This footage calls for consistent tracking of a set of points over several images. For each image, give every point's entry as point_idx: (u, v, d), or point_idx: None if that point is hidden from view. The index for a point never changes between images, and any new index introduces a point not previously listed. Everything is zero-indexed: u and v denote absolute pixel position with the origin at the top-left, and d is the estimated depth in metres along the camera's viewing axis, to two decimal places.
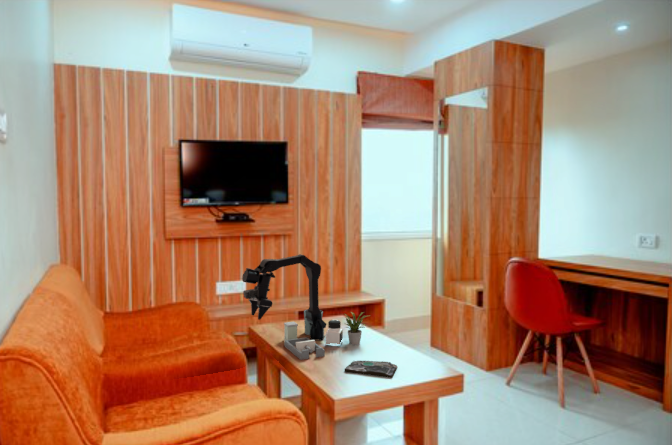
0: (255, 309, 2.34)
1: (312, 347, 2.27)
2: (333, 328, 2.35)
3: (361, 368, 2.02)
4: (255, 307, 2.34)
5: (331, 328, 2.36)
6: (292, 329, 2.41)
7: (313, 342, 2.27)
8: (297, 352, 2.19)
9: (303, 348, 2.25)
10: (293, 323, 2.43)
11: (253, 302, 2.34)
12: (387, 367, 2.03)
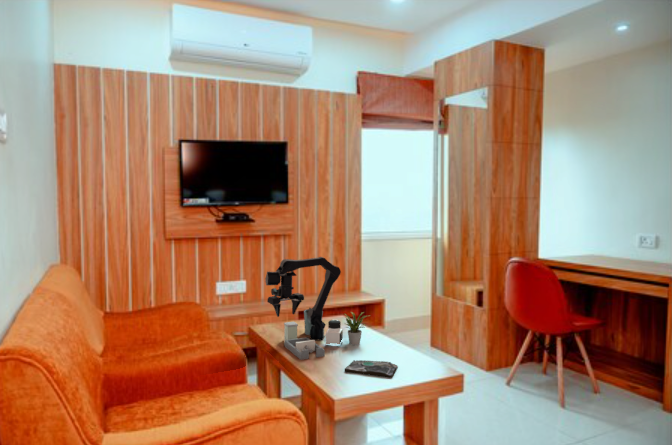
0: (294, 308, 2.44)
1: (312, 347, 2.27)
2: (333, 328, 2.35)
3: (361, 368, 2.01)
4: (294, 306, 2.44)
5: (331, 328, 2.36)
6: (292, 329, 2.41)
7: (313, 342, 2.27)
8: (297, 352, 2.19)
9: (303, 348, 2.25)
10: (293, 323, 2.43)
11: (293, 301, 2.45)
12: (387, 367, 2.02)
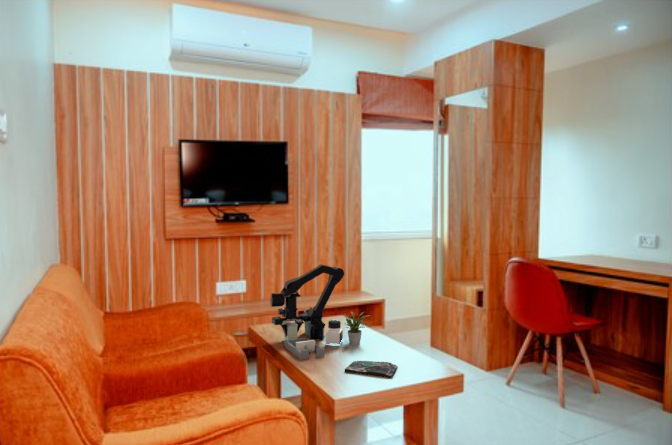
0: None
1: (312, 347, 2.27)
2: (333, 328, 2.35)
3: (361, 369, 2.01)
4: None
5: (331, 328, 2.36)
6: (292, 329, 2.41)
7: (313, 342, 2.27)
8: (297, 352, 2.19)
9: (303, 348, 2.25)
10: (293, 323, 2.43)
11: (295, 322, 2.45)
12: (387, 367, 2.02)
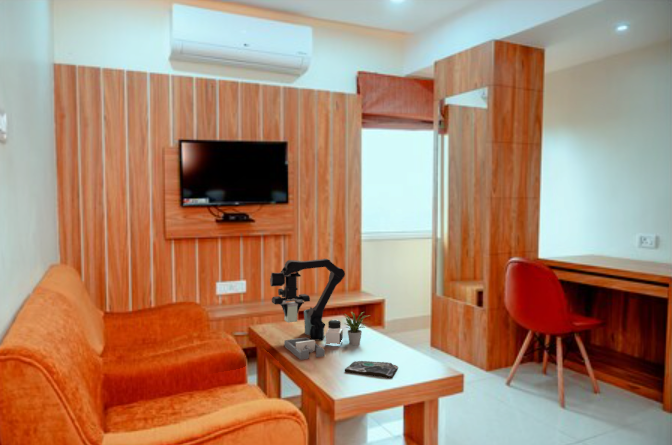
0: None
1: (312, 347, 2.27)
2: (333, 328, 2.35)
3: (362, 369, 2.01)
4: None
5: (331, 328, 2.36)
6: (292, 309, 2.41)
7: (313, 342, 2.27)
8: (297, 352, 2.19)
9: (303, 348, 2.25)
10: (293, 303, 2.43)
11: None
12: (387, 368, 2.02)
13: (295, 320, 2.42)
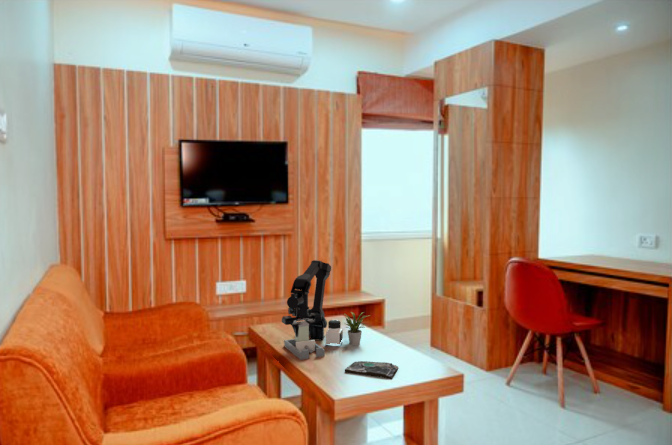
0: None
1: (312, 347, 2.27)
2: (333, 328, 2.35)
3: (362, 369, 2.01)
4: None
5: (331, 328, 2.36)
6: (304, 329, 2.28)
7: (313, 342, 2.27)
8: (297, 352, 2.19)
9: (303, 348, 2.25)
10: (304, 322, 2.30)
11: (307, 322, 2.32)
12: (387, 368, 2.01)
13: None
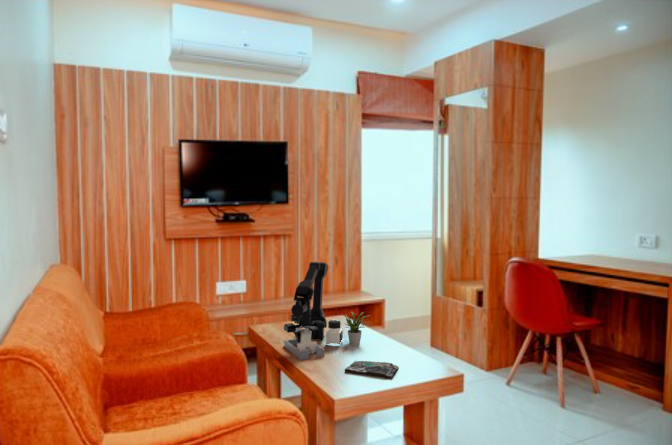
0: None
1: (314, 348, 2.26)
2: (333, 328, 2.35)
3: (362, 369, 2.01)
4: None
5: (331, 328, 2.36)
6: (306, 336, 2.25)
7: (315, 343, 2.26)
8: (297, 352, 2.19)
9: (305, 349, 2.23)
10: (307, 330, 2.27)
11: None
12: (388, 368, 2.01)
13: None
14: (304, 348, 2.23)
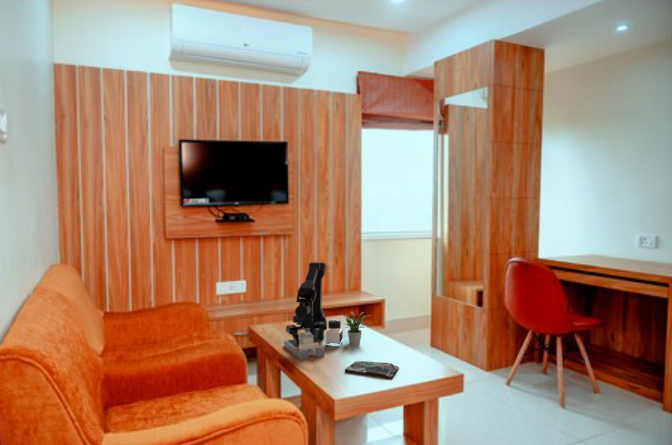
0: (316, 338, 2.26)
1: None
2: (333, 328, 2.35)
3: (362, 369, 2.01)
4: (316, 336, 2.27)
5: (331, 328, 2.36)
6: (308, 340, 2.23)
7: (317, 345, 2.23)
8: (297, 352, 2.19)
9: None
10: (309, 334, 2.25)
11: (315, 331, 2.28)
12: (388, 368, 2.01)
13: None
14: None
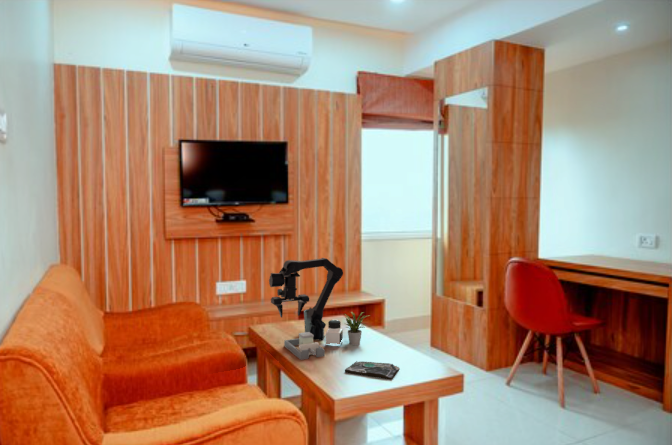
0: (299, 310, 2.43)
1: None
2: (333, 328, 2.35)
3: (362, 369, 2.00)
4: (299, 307, 2.43)
5: (331, 328, 2.36)
6: (308, 340, 2.23)
7: (317, 344, 2.24)
8: (297, 352, 2.19)
9: None
10: (309, 334, 2.25)
11: (298, 303, 2.44)
12: (388, 369, 2.00)
13: None
14: (306, 349, 2.21)
